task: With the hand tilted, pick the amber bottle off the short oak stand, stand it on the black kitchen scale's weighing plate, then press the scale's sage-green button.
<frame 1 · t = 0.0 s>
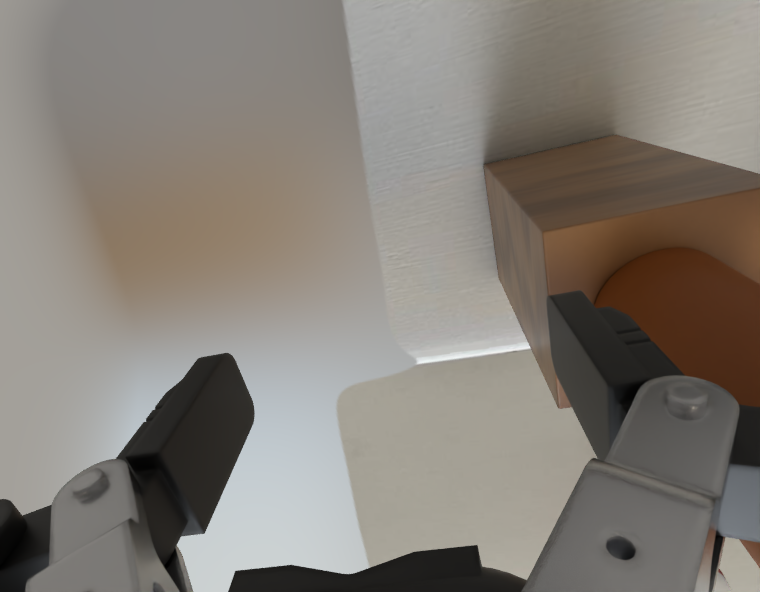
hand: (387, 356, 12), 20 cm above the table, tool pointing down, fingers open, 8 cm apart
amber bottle: (660, 310, 17), point 14 cm above the table, touching oak stand
oak stand: (553, 211, 30), on the table
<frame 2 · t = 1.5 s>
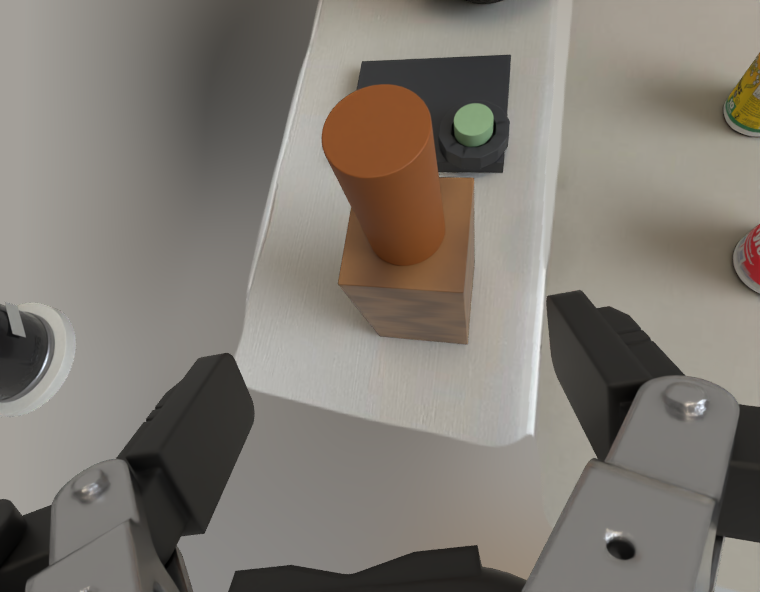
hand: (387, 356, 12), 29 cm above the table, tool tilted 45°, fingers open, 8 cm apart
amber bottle: (406, 230, 30), point 14 cm above the table, touching oak stand
scale: (428, 119, 49), on the table
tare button: (473, 125, 43), point 4 cm above the table, slide at 0.1 cm
supplement bottle: (752, 115, 43), on the table
oak stand: (427, 298, 43), on the table
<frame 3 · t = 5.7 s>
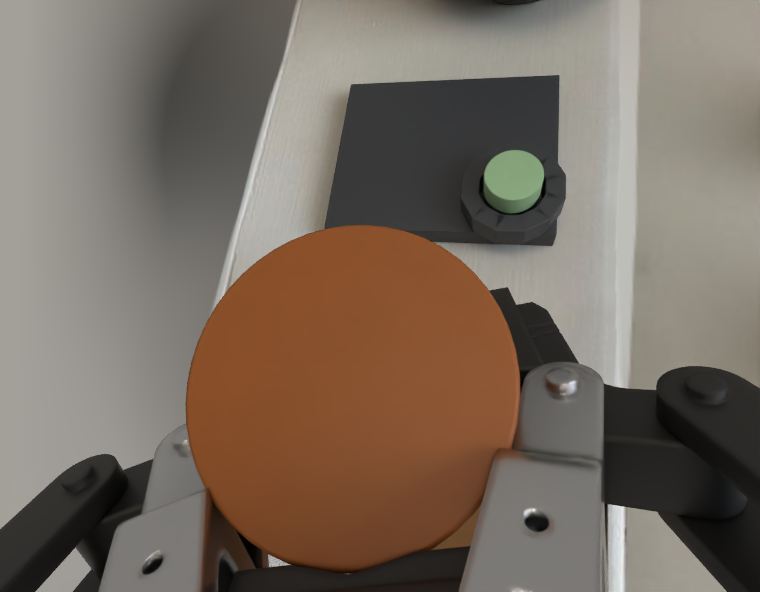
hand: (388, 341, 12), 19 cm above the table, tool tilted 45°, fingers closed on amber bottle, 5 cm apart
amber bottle: (420, 424, 16), point 14 cm above the table, touching gripper, oak stand
scale: (443, 164, 35), on the table
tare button: (512, 182, 29), point 4 cm above the table, slide at 0.1 cm
oak stand: (446, 439, 29), on the table
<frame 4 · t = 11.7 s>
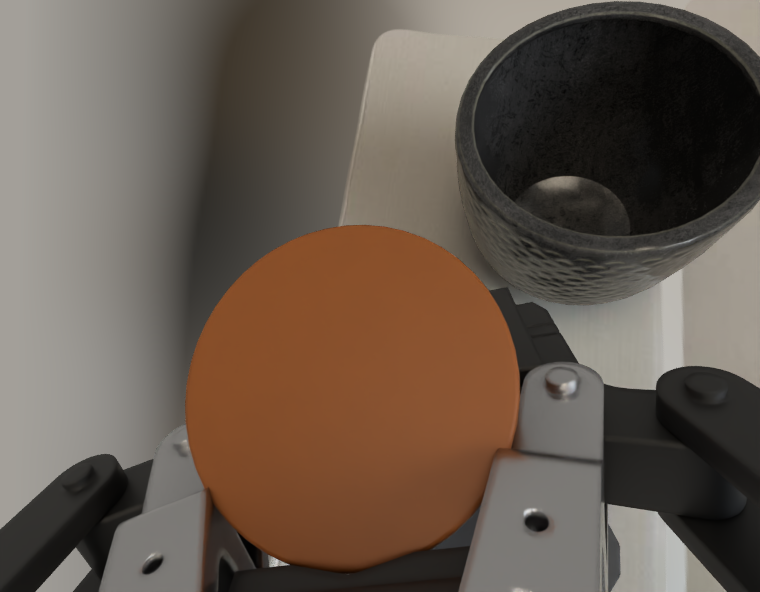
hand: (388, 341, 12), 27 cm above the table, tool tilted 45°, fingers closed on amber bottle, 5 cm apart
planter: (561, 240, 41), on the table
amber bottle: (420, 424, 16), point 23 cm above the table, touching gripper
scale: (489, 472, 36), on the table
when the fingers open (6 cm above the table, at t = 17.8 s): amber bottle stays where it is, resting on scale.
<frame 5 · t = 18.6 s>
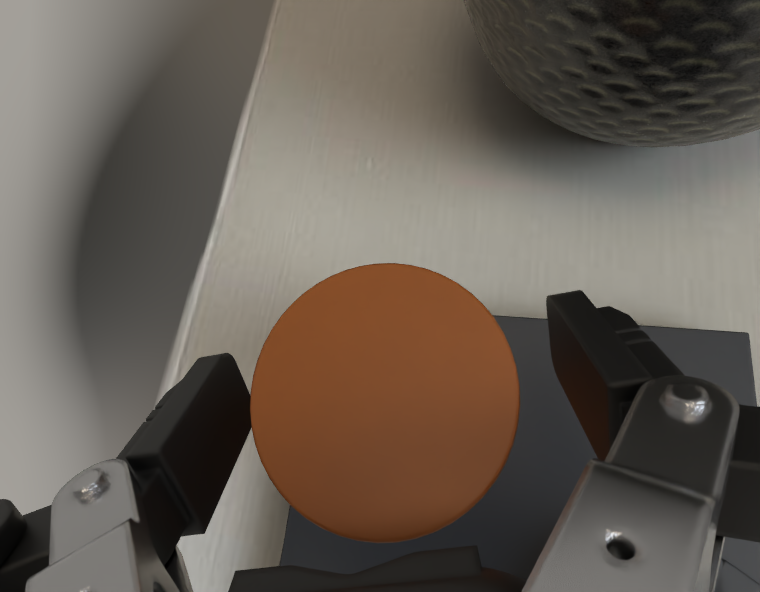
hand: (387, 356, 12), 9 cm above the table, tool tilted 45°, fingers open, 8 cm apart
planter: (629, 73, 23), on the table
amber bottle: (431, 425, 18), point 2 cm above the table, touching scale
scale: (505, 489, 18), on the table
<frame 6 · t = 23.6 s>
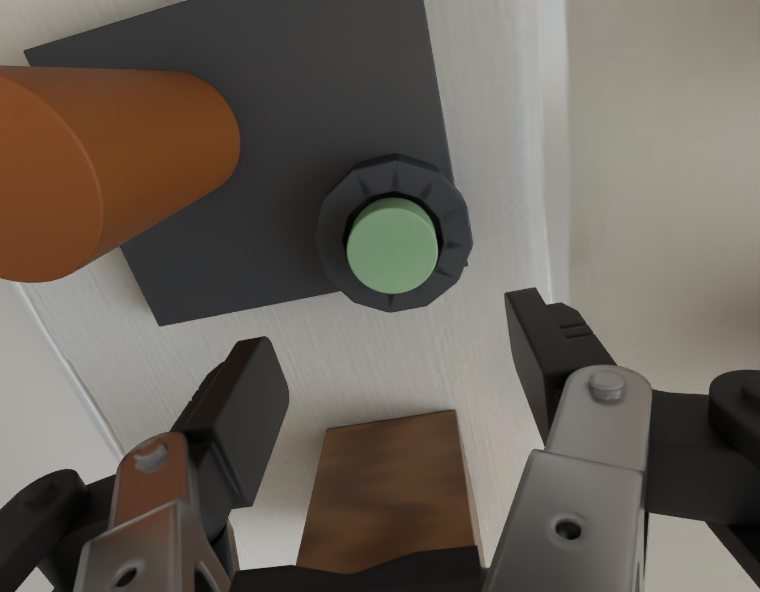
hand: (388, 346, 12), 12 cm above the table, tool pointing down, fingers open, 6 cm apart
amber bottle: (182, 135, 20), point 2 cm above the table, touching scale
scale: (271, 160, 22), on the table
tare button: (392, 245, 19), point 4 cm above the table, slide at 0.1 cm
oak stand: (403, 468, 29), on the table
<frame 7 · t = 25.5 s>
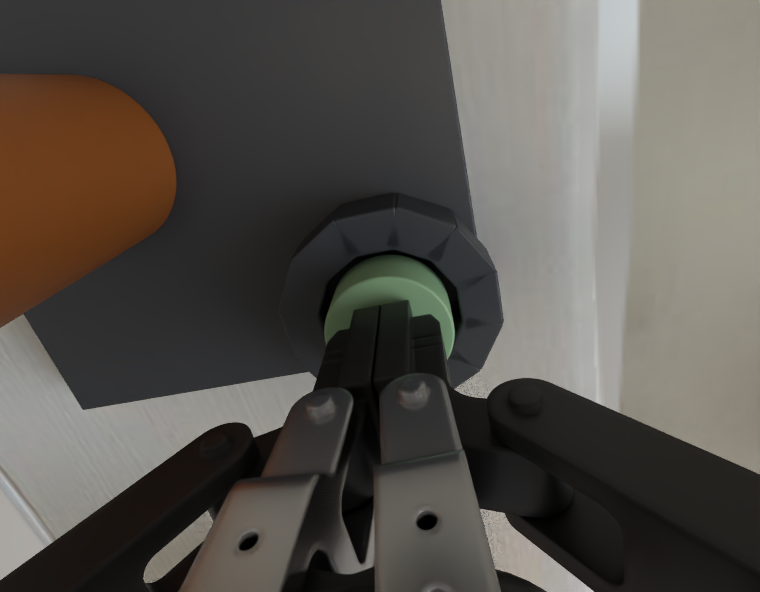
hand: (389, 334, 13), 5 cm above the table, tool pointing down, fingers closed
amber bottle: (95, 165, 14), point 2 cm above the table, touching scale
scale: (226, 195, 16), on the table
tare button: (389, 322, 13), point 4 cm above the table, slide at -0.1 cm, touching gripper
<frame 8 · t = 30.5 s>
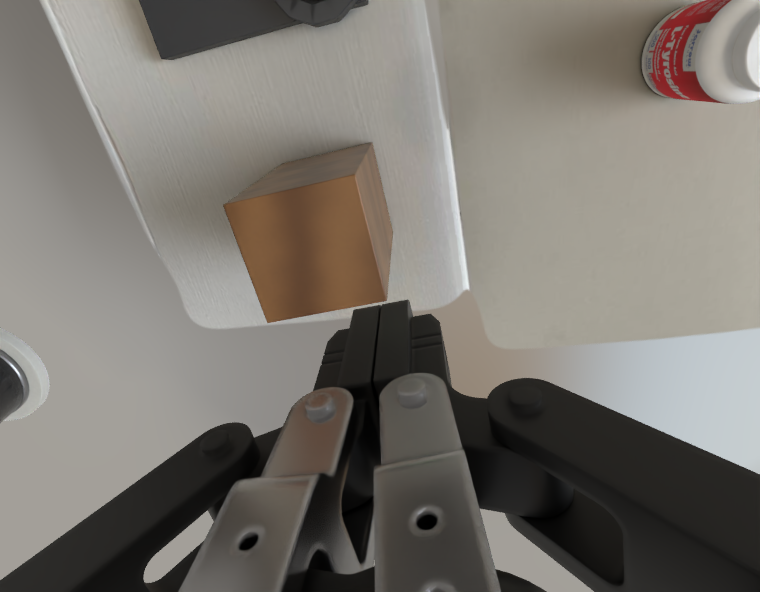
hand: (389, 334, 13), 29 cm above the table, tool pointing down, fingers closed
pill bottle: (680, 53, 35), on the table
oak stand: (338, 199, 40), on the table
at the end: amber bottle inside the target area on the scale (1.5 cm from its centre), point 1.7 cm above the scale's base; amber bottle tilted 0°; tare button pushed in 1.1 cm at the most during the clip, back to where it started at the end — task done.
